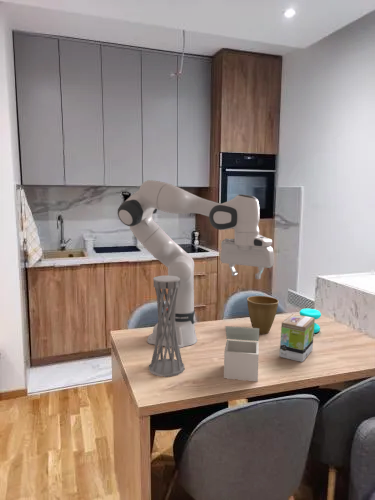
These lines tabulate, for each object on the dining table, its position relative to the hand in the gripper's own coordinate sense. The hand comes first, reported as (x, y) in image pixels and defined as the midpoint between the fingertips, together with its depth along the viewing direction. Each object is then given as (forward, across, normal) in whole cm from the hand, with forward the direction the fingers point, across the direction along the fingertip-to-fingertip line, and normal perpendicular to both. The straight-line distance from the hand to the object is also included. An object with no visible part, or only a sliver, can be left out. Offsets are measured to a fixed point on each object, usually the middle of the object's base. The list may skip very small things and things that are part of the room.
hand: (246, 277), depth 140 cm
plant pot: (+36, -11, +42) cm, 56 cm away
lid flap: (+21, 0, -2) cm, 21 cm away
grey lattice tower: (+36, -24, -16) cm, 46 cm away
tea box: (+36, +11, +26) cm, 46 cm away
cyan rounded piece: (+36, +7, +57) cm, 68 cm away
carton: (+36, 0, -3) cm, 36 cm away
